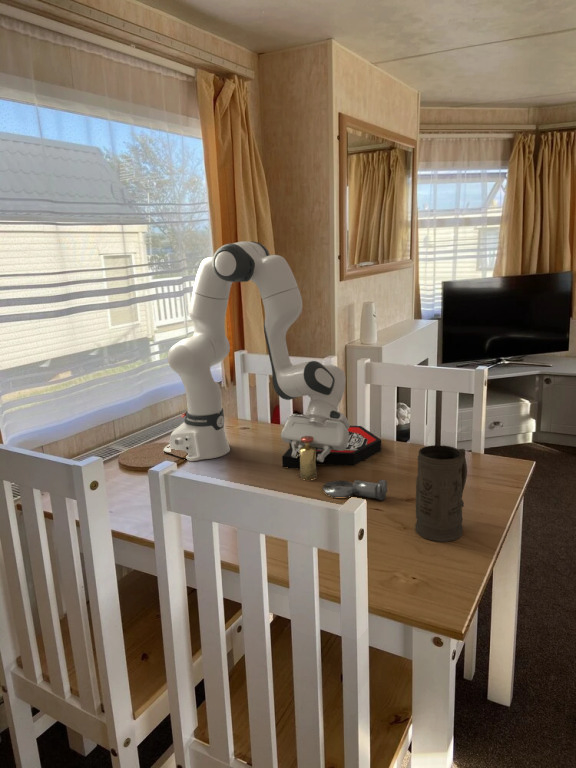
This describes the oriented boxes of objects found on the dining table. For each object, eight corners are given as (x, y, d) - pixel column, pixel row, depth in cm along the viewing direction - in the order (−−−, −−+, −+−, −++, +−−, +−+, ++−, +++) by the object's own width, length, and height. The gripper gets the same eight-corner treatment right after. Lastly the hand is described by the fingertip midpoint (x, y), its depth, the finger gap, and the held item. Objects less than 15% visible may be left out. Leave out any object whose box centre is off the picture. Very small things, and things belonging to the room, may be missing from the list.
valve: (297, 479, 165) (296, 439, 162) (305, 473, 169) (303, 434, 166) (312, 481, 163) (310, 441, 160) (319, 475, 167) (317, 436, 164)
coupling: (317, 495, 155) (317, 477, 153) (331, 482, 162) (331, 465, 161) (378, 506, 147) (378, 487, 145) (389, 492, 154) (389, 474, 153)
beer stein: (448, 548, 126) (454, 461, 122) (405, 534, 133) (408, 451, 129) (477, 525, 137) (482, 445, 133) (435, 513, 144) (440, 436, 140)
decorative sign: (277, 470, 174) (378, 474, 167) (277, 457, 173) (378, 460, 166) (298, 432, 206) (383, 434, 200) (298, 421, 205) (383, 423, 199)
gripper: (285, 407, 173) (271, 449, 167) (349, 415, 163) (335, 459, 157) (293, 417, 177) (279, 458, 172) (355, 425, 168) (342, 468, 162)
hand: (306, 459), depth 164 cm, fingers open, 7 cm apart
